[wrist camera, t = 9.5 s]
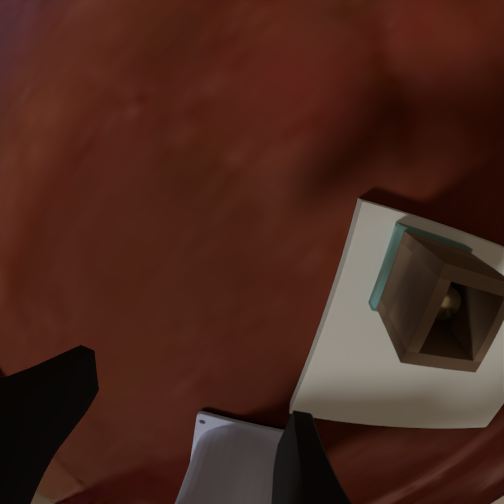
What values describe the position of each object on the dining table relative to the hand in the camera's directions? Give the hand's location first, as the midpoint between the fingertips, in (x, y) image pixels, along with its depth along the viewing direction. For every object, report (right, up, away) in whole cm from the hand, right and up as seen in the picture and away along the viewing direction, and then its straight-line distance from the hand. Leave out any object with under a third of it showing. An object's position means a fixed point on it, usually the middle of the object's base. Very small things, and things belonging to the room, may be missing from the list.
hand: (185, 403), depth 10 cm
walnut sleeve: (+12, +4, +6) cm, 14 cm away
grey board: (+16, -1, +9) cm, 18 cm away
